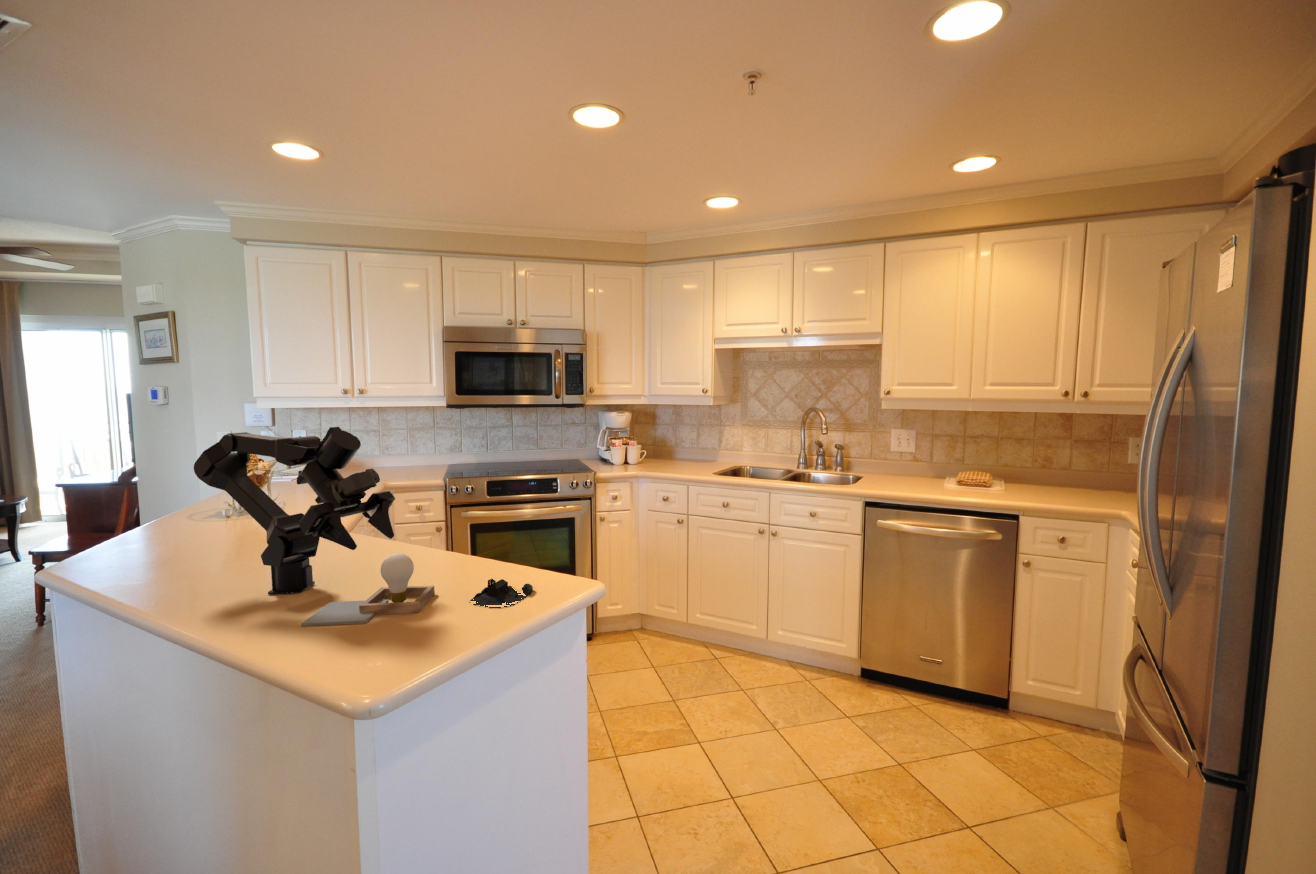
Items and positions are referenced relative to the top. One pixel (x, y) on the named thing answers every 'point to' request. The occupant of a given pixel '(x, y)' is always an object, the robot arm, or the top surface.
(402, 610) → the holder frame
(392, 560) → the light bulb
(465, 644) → the top surface
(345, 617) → the coaster
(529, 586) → the black irregular lumpy piece
